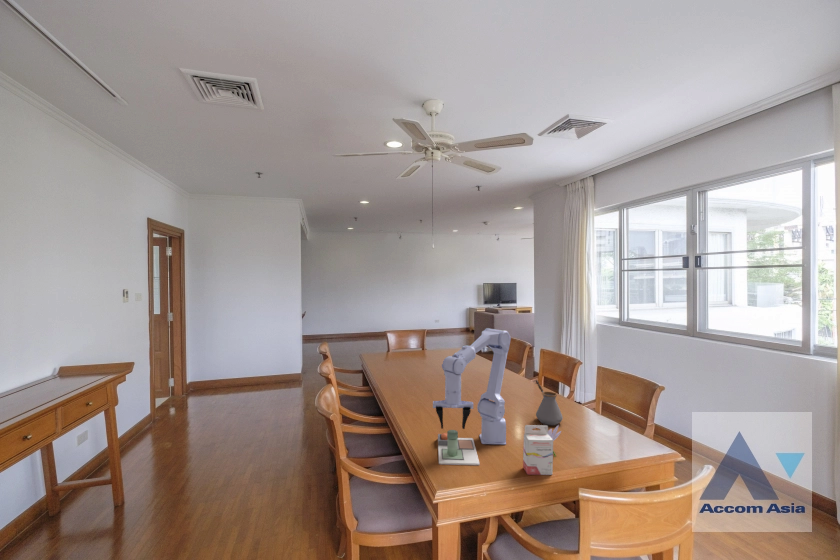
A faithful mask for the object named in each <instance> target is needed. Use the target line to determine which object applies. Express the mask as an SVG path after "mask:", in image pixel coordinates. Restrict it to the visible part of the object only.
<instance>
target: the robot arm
mask: <svg viewBox="0 0 840 560" xmlns="http://www.w3.org/2000/svg"><path fill="white" fill-rule="evenodd" d="M511 340H512V337H511V335H510V333H509V331H508V330H501V329H495V328H489V327H486V328H485V329H484V330H482V331H481V334H480V335H479V337H478V338H477V339H475V341H473V342H472V344H470V345H463V346H461V348H460V349H459V350H457V351H456V352H454V354H452V355H448V356H446V357H445V358H444V359H443V361H442V364H441V368H442V370H443V374H444V375H443V376H444V378H445V382H444V383H445V384H444V385H445V387H444V388H445V389H444V395H445V396H444V400H443V399H442V400H433V401H432V408H433V409H435V413H436V414H437V416H438V418H439V421H440V422H439V423H440V428H441V429H443V430H444V409H445V408H446V409H447V408H448V409H450V408H451V409H462V422H461V423H462V424H461V427H462V429H463V430H465V429H466V423H467V420H468V418H469V416H470V414H471V411H472V410H473V409H474V402H473V401H467V400H462V374H463V373H464V372H465V369H466V367H467V365H468V364H469V363H470V362H472V361H473V360H474V359H475V358H476V357H477V355H476V354H477V353H478V352H480V351H481V350H483V349H484V348H486V347H487V346H488V348H490V349H491V351H492V352H493V355H492V356H493V357H492V362H491V367H490V371H489V376H488V377H489V378H488V381H487V382H488V383H487V387H486V391H485V392H484V393H482V394H481V395H480V397H479V401H478V403H477V405H476V408H477V412H478V413H479V414H480V415H479V417H481V433H480V434H479V435H478V436H479V439H480V442H481V444H482V445H507V423H506V422H507V421H506V419H505V418H504V415H505V412H506V411H505V410H506V409H505V404H506V401H505V399H504V398H503V396H501V391H502V386H503V379H504V375H505V369H506V363H507V358H508V353H509V349H510V346H511V345H510V344H511Z"/></svg>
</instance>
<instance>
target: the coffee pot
mask: <svg viewBox="0 0 840 560" xmlns="http://www.w3.org/2000/svg"><path fill="white" fill-rule="evenodd" d="M534 384H536V385H537V387H538V389H539V391H540V392H541V395H542V396H543V398H542V400H541V402H540V404H539V406H538V408H537V411H536V412H535V416H536V418H537V420H538V421H540V423H541V424H543V425H547V426H558V425H559V424H560V423H561V422H562V421H563V419H564V417H563V414H562V412H561V409H560V406H559V405H558V403H557V400H556V397H557V396H558V393H556V392H552V391H544V390H543V388H542V386H541V384H540V382H539V380H537V379H535V380H534Z"/></svg>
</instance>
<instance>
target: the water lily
mask: <svg viewBox="0 0 840 560" xmlns="http://www.w3.org/2000/svg"><path fill="white" fill-rule="evenodd" d="M555 426H556V427H554V429H553V428H550V429H548V435H549V436H550V437H551V438H552V439H553V442H554V441H555V440H556V439H557V438H559V436H560V435H561V433H562V430H560V431H558V430H559V426H560V424H557V425H555ZM553 457H557V455H556V452H555V450H553Z"/></svg>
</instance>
